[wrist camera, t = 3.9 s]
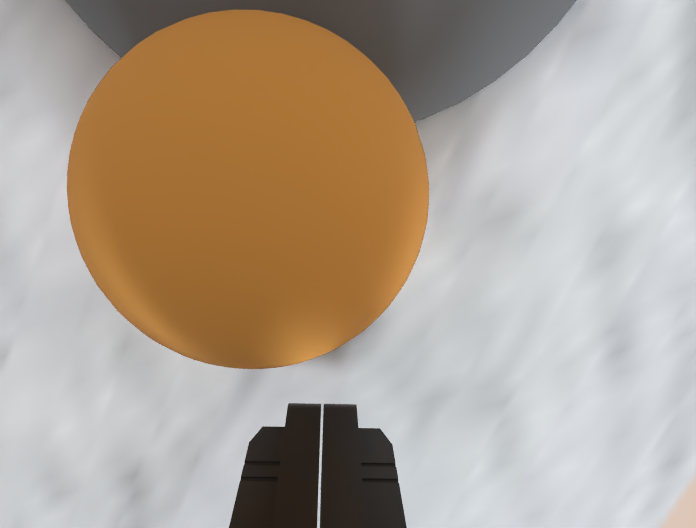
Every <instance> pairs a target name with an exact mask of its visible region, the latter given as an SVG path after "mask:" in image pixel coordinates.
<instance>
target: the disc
mask: <svg viewBox="0 0 696 528" xmlns="http://www.w3.org/2000/svg"><path fill="white" fill-rule="evenodd" d="M65 1H66V2H67V3H68V4H69V5H70V6H71V7H72V8H73V10H74V11H75V12H76V13H77V14H78V15H79V16H80V18H81V19H82V20H83V21H84V22H85V23H86V24H87V25H88V27H89V28H90V29H91V30H92V31H93V32H94V33H95V34H96V35H97V36H98V37H99V38H100V39H102V40H103V41H104V42H105V43H106V44H107V45H108V46H109V47H110V48H111V49H113V50H114V51H115V52H116V53H117V54H118V55H119V56H120V57H121V58H122V57H123V56H124V55H126V54H127V53H128V52H129V51H130V50H131V49H132V48H133V47H135V46H136V45H137V44H138V43H140V42H141V41H143V40H144V39H146V38H147V37H149V36H151V35H152V34H154V33H155V32H157V31H159V30H161V29H164V28H166V27H168V26H171V25H173V24H175V23H177V22H180V21H182V20H185V19H187V18H190V17H194V16H198V15H202V14H206V13H209V12H217V11H225V10H262V11H268V12H275V13H282V14H285V15H289V16H293V17H296V18H300V19H303V20H306V21H309V22H311V23H313V24H316V25H318V26H320V27H323V28H325V29H327V30H329V31H331V32H332V33H334V34H336V35H338V36H339V37H341V38H343V39H344V40H346V41H348V42H349V43H350V44H351V45H353V46H354V47H355V48H357V49H358V50H359V51H360V52H362V53H363V54H364V55H365V56H366V57H367V58H369V59H370V60H371V61H372V62H373V63H374V64H375V65H376V66H377V67H378V68H379V69H380V70H381V72H382V73H383V74H384V75H385V76H386V77H387V78H388V79H389V81H390V82H391V84H392V85H393V86H394V88H395V89H396V90H397V92H398V93H399V95H400V96H401V98H402V100H403V101H404V103H405V105H406V107H407V109H408V111H409V113H410V115H411V116H412V118H413V120H414V121H417V120H421V119H424V118H426V117H428V116H431V115H433V114H435V113H437V112H440V111H442V110H444V109H446V108H449V107H451V106H453V105H455V104H457V103H460V102H461V101H463V100H465V99H466V98H468V97H469V96H471V95H473V94H474V93H476V92H478V91H479V90H481V89H483V88H484V87H486V86H487V85H489V84H491V83H492V82H494V81H495V80H497V79H498V78H499V77H500V76H502V75H503V74H504V73H505V72H507V71H508V70H509V69H510V68H512V67H513V66H514V65H515V64H517V63H518V62H519V61H520V60H522V59H523V58H524V57H525V56H527V55H528V54H529V53H530V52H531V51H532V50H533V49H534V48H535V47H536V46H537V45H538V44H539V43H540V42H541V40H542V39H543V38H544V37H545V36H546V35H547V34H548V33H549V32H550V31H551V30H552V29H553V28H554V27H555V26H556V25H557V24H558V23H559V22H560V20H561V19H562V18H563V17H564V15H565V14H566V13H567V12H568V10H569V9H570V8H571V6H572V5H573V4H574V3H575V1H576V0H65Z"/></svg>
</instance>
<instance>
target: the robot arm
mask: <svg viewBox="0 0 696 528" xmlns="http://www.w3.org/2000/svg"><path fill="white" fill-rule="evenodd" d="M320 418H321V404H298V403H289V404H288V409H287V416H286V424H285V427H262V428H261V429H260V430H259V432H258V433H257V434H256V435H255V436H254V437H253V439H252V440H251V441H250V442H249V446H248V450H247V454H246V458H245V465H244V467H243V471H242V475H241V481H240V484H239V488H238V492H237V496H236V501H235V505H234V509H233V513H232V518H231V522H230V526H229V528H317V508H318V479H319V449H320ZM320 528H406V522H405V516H404V510H403V504H402V499H401V493H400V487H399V483H398V476H397V470H396V467H395V458H394V452H393V447H392V444H391V442H390V441H389V440H388V439H387V437H386V436H385V435H384V433H383V432H382V431H381V429H374V428H358V419H357V407H356V405H352V404H324V415H323V443H322V473H321V508H320Z"/></svg>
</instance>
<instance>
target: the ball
mask: <svg viewBox="0 0 696 528" xmlns="http://www.w3.org/2000/svg"><path fill="white" fill-rule="evenodd" d="M67 196H68V208H69V214H70V220H71V225H72V228H73V232H74V235H75V239H76V242H77V245H78V248H79V250H80V253H81V256H82V258H83V260H84V262H85V264H86V266H87V268H88V270H89V272H90V274H91V275H92V277H93V279H94V280H95V282H96V284H97V285H98V287H99V288H100V290H101V291H102V292H103V293H104V295H105V296H106V297H107V298H108V300H109V301H110V302H111V303H112V305H113V306H114V307H115V308H116V309H117V311H118V312H119V313H120V314H121V315H123V316H124V317H125V318H126V319H127V320H128V321H129V322H130V323H132V324H133V325H134V326H135V327H136V328H137V329H139V330H140V331H141V332H143V333H144V334H145V335H147V336H148V337H149V338H151V339H152V340H154V341H156V342H158V343H159V344H161V345H163V346H165V347H167V348H169V349H171V350H173V351H175V352H177V353H179V354H181V355H183V356H186V357H189V358H191V359H194V360H197V361H201V362H204V363H208V364H213V365H217V366H223V367H230V368H241V369H265V368H276V367H283V366H288V365H293V364H297V363H300V362H304V361H307V360H310V359H313V358H315V357H318V356H321V355H323V354H326V353H328V352H330V351H332V350H334V349H336V348H338V347H340V346H341V345H343V344H344V343H346V342H348V341H349V340H351V339H352V338H354V337H355V336H357V335H358V334H360V333H361V332H362V331H364V330H365V329H366V328H367V327H368V326H369V325H371V324H372V323H373V322H374V321H375V320H376V319H377V318H378V317H379V316H380V315H381V314H382V313H383V312H384V311H385V310H386V308H387V307H388V306H389V305H390V304H391V302H392V301H393V300H394V298H395V297H396V295H397V294H398V293H399V291H400V290H401V288H402V287H403V285H404V284H405V282H406V280H407V278H408V276H409V274H410V272H411V270H412V268H413V266H414V264H415V261H416V259H417V257H418V254H419V252H420V248H421V244H422V241H423V237H424V233H425V228H426V224H427V217H428V205H429V182H428V173H427V165H426V158H425V153H424V150H423V147H422V144H421V141H420V138H419V135H418V131H417V128H416V125H415V122H414V120H413V118H412V116H411V115H410V113H409V111H408V109H407V107H406V105H405V103H404V101H403V100H402V98H401V96H400V95H399V93H398V92H397V90H396V89H395V88H394V86H393V85H392V84H391V82H390V81H389V79H388V78H387V77H386V76H385V75H384V74H383V73H382V72H381V70H380V69H379V68H378V67H377V66H376V65H375V64H374V63H373V62H372V61H371V60H370V59H369V58H367V57H366V56H365V55H364V54H363V53H362V52H360V51H359V50H358V49H357V48H355V47H354V46H353V45H351V44H350V43H349V42H348V41H346V40H344V39H343V38H341V37H339V36H338V35H336V34H334V33H332V32H331V31H329V30H327V29H325V28H323V27H320V26H318V25H316V24H313V23H311V22H309V21H306V20H303V19H300V18H296V17H293V16H289V15H285V14H282V13H275V12H268V11H262V10H225V11H217V12H209V13H206V14H202V15H198V16H194V17H190V18H187V19H185V20H182V21H180V22H177V23H175V24H173V25H171V26H168V27H166V28H164V29H161V30H159V31H157V32H155V33H154V34H152V35H151V36H149V37H147V38H146V39H144V40H143V41H141V42H140V43H138V44H137V45H136V46H135V47H133V48H132V49H131V50H130V51H129V52H128V53H127V54H126V55H124V56H123V57H122V58H121V59H120V60H119V61H118V62H117V63H116V64H115V65H114V66H112V67H111V69H110V70H109V71H108V73H107V74H106V75H105V77H104V78H103V79H102V81H101V82H100V83H99V85H98V86H97V88H96V89H95V91H94V92H93V94H92V95H91V97H90V98H89V100H88V102H87V104H86V106H85V108H84V111H83V113H82V115H81V117H80V120H79V122H78V125H77V128H76V131H75V133H74V137H73V142H72V146H71V150H70V155H69V163H68V172H67Z"/></svg>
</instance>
